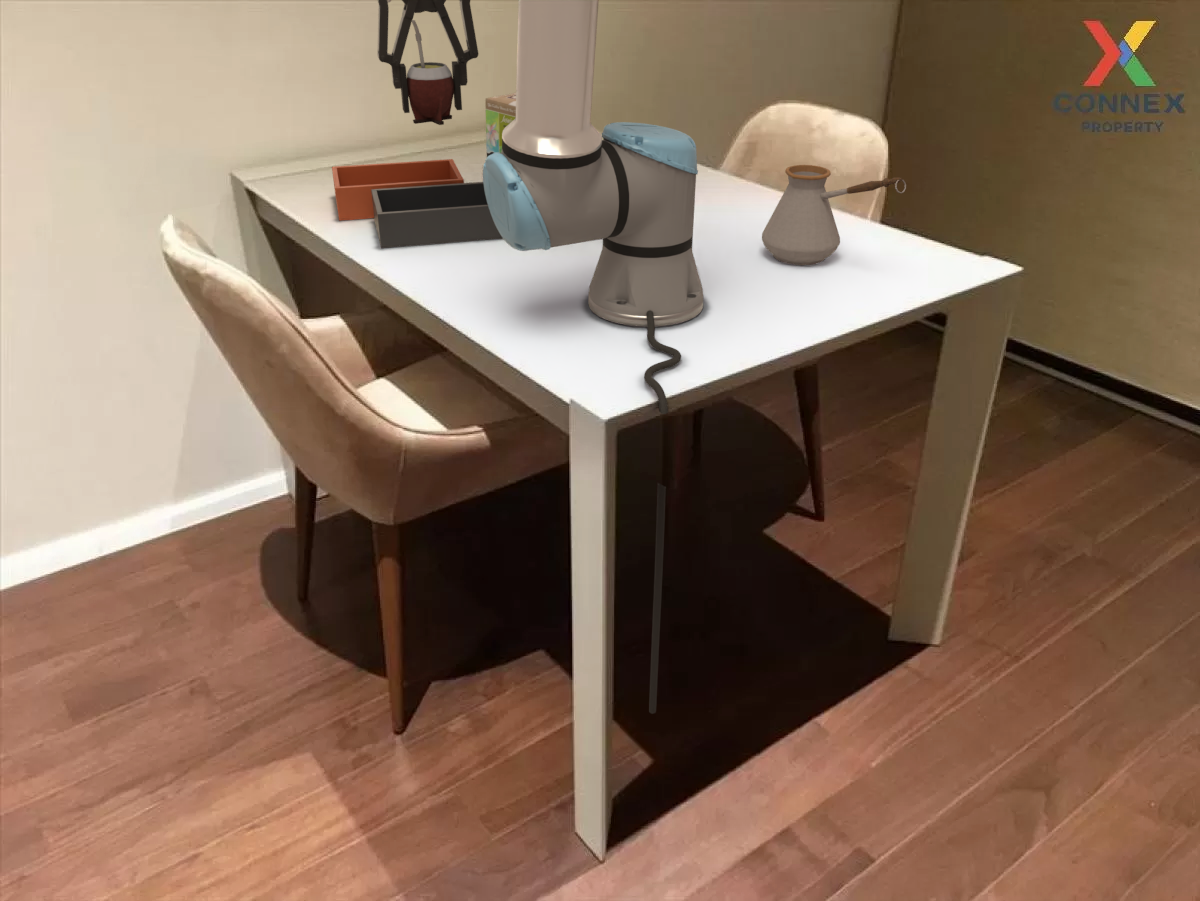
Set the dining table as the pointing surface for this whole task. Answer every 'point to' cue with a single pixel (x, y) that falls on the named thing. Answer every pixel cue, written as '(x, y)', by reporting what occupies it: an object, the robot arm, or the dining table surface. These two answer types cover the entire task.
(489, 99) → the tea box
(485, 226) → the charcoal tote
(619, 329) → the dining table surface
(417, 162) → the terracotta tote
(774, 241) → the coffee pot
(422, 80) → the mate gourd
